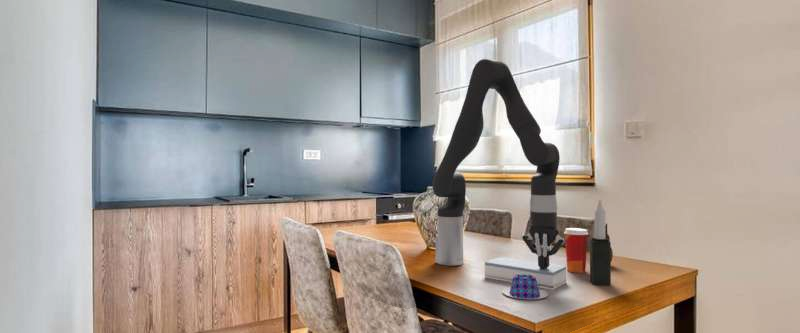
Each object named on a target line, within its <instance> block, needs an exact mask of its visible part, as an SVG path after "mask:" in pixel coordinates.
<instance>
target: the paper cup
mask: <svg viewBox="0 0 800 333" xmlns="http://www.w3.org/2000/svg"><path fill="white" fill-rule="evenodd" d="M563 233H564V239H565V240H566V242H565V243H564V244H565V254H566V255H565V256H566V258H565V259H566V271H567V272H569V273H572V274H573V273H575V274H583V273H586V266H587V252H588V250H587V249H588V236H589V232H588V229H587V228H586V229H585V228H580V227H567V228H565V229H564V232H563Z"/></svg>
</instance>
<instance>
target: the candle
mask: <svg viewBox="0 0 800 333" xmlns="http://www.w3.org/2000/svg"><path fill="white" fill-rule="evenodd" d="M605 226H606V210H605V209H604V208H603V205H602V200H601V199H599V200H598V204H597V206H596V208H595V210H594V237H591V239H589V282H591V285H594V286H606V287H608V286H611V285H612V282H611V280H612V278H611V276H612V275H611V274H612V270H611V269H612V267H611V266H612V265H611V264H612V261H611V248H612V247H611V240H610V241H609V239H608V238H605Z"/></svg>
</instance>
